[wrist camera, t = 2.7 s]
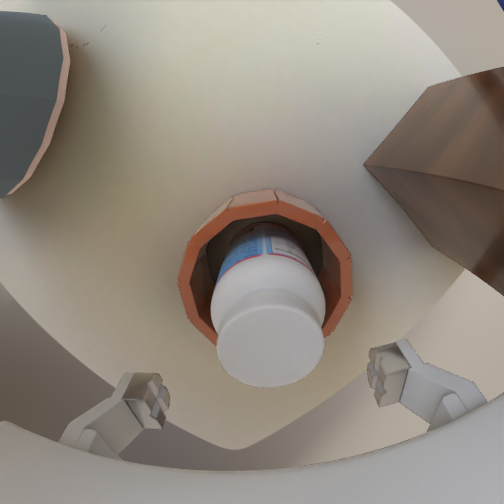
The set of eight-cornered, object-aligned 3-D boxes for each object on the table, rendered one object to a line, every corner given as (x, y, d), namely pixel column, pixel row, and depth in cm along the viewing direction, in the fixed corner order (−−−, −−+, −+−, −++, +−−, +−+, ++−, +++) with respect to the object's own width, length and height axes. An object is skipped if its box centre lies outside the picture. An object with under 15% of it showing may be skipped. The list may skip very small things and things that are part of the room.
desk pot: (325, 181, 20) (347, 190, 14) (334, 306, 23) (351, 345, 18) (184, 203, 20) (160, 219, 15) (213, 323, 24) (203, 364, 19)
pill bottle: (233, 297, 23) (215, 402, 12) (219, 226, 21) (181, 298, 10) (306, 288, 23) (338, 389, 12) (299, 215, 21) (341, 278, 10)
